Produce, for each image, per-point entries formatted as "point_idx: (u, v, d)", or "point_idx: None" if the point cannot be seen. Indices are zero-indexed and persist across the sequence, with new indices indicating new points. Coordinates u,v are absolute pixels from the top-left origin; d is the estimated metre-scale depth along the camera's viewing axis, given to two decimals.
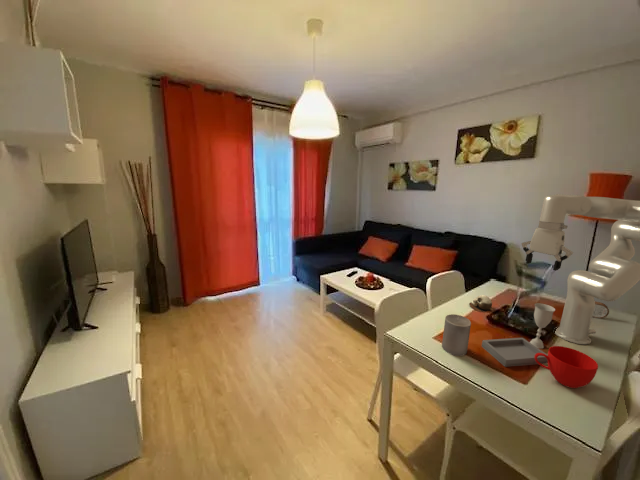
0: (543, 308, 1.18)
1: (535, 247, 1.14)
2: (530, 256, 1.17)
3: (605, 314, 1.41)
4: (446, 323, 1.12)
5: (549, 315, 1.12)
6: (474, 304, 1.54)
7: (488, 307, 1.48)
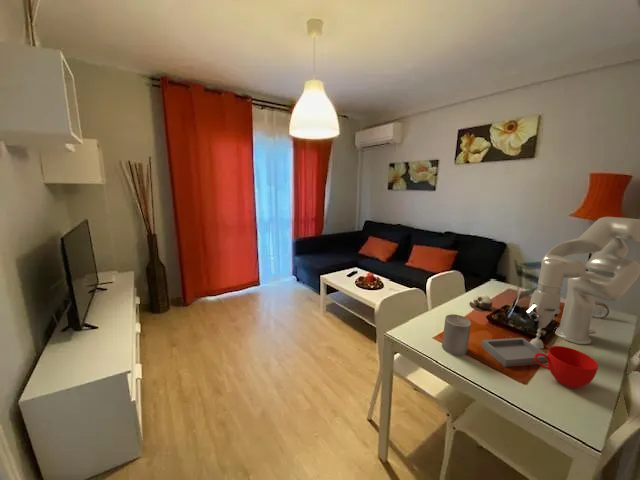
0: None
1: (542, 311, 1.13)
2: None
3: (605, 314, 1.41)
4: (446, 323, 1.12)
5: (549, 315, 1.12)
6: (474, 304, 1.54)
7: (488, 306, 1.48)
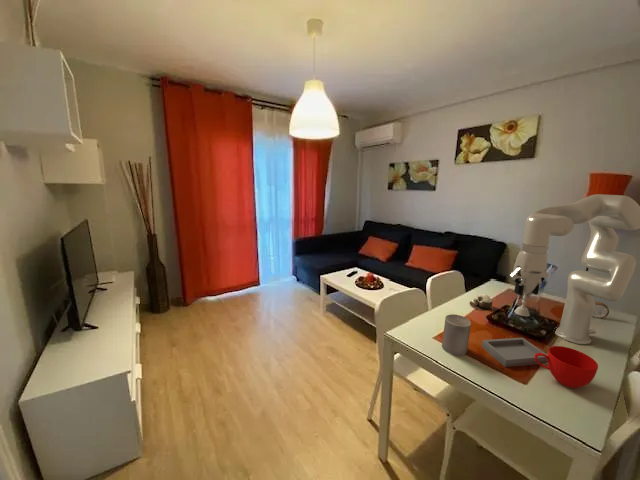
0: None
1: (527, 274, 1.02)
2: None
3: (605, 314, 1.41)
4: (446, 323, 1.12)
5: (535, 278, 1.02)
6: (474, 303, 1.55)
7: (488, 306, 1.49)
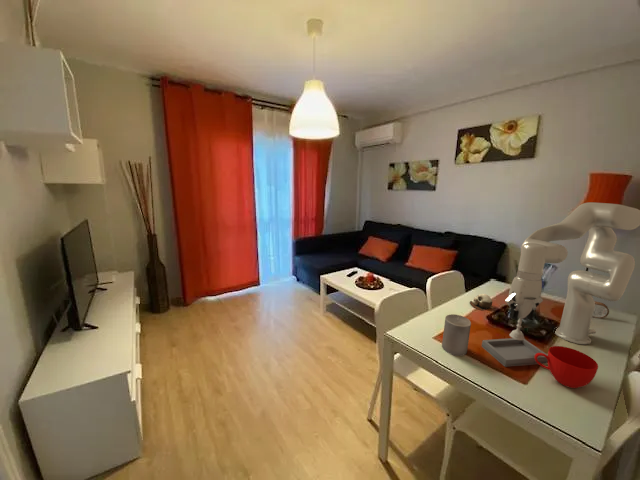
0: None
1: (522, 300, 1.04)
2: None
3: (605, 314, 1.41)
4: (446, 323, 1.12)
5: (529, 304, 1.04)
6: (474, 303, 1.55)
7: (488, 305, 1.49)
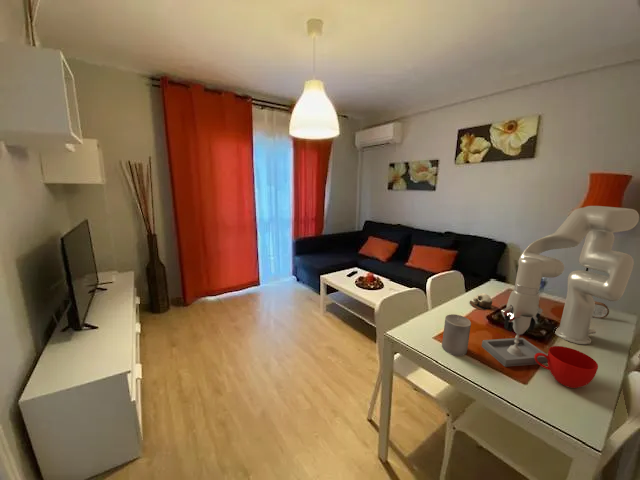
0: None
1: (519, 314, 1.06)
2: None
3: (605, 314, 1.41)
4: (446, 323, 1.12)
5: (527, 321, 1.05)
6: (474, 302, 1.56)
7: (488, 305, 1.50)
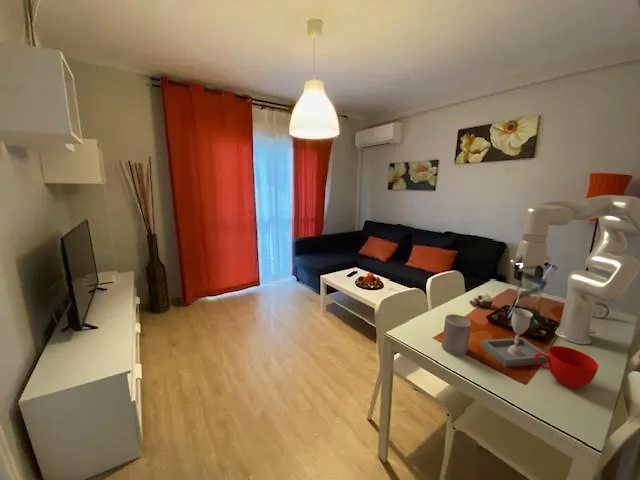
0: (521, 313, 1.11)
1: (528, 262, 1.08)
2: None
3: (605, 314, 1.41)
4: (446, 323, 1.12)
5: (526, 321, 1.06)
6: (475, 302, 1.56)
7: (489, 305, 1.50)
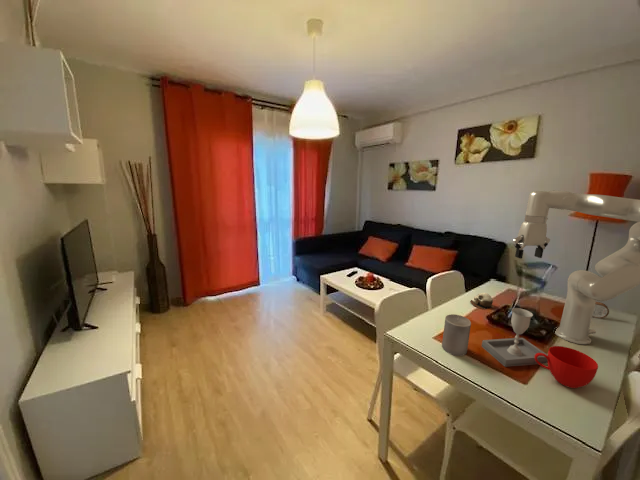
0: (521, 313, 1.11)
1: (529, 241, 1.18)
2: None
3: (605, 314, 1.41)
4: (446, 323, 1.12)
5: (526, 321, 1.06)
6: (475, 302, 1.57)
7: (489, 304, 1.51)
